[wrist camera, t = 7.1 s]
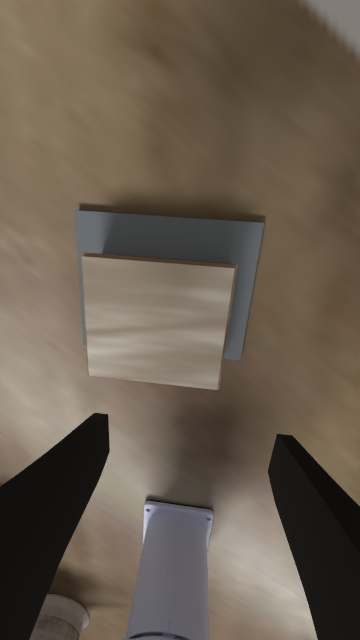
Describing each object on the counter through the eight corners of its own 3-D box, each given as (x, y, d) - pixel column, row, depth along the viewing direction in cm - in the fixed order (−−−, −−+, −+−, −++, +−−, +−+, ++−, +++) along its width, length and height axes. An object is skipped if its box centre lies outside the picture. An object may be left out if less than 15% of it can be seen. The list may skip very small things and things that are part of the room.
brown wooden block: (219, 392, 15) (238, 265, 13) (86, 377, 16) (78, 252, 13) (215, 368, 19) (230, 263, 16) (105, 356, 19) (102, 253, 17)
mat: (239, 358, 19) (240, 360, 18) (86, 342, 20) (83, 344, 19) (262, 223, 16) (264, 222, 15) (78, 211, 16) (75, 210, 16)
